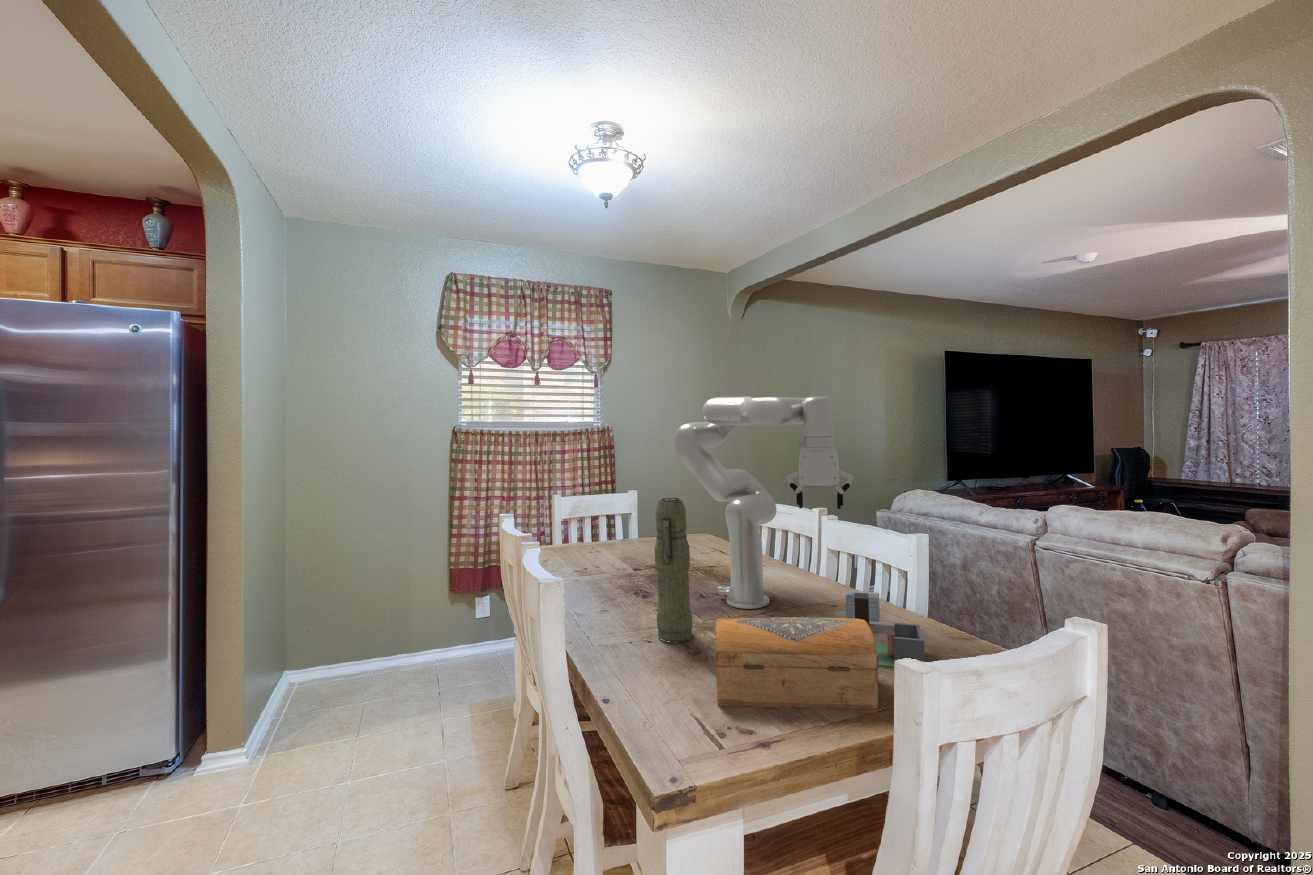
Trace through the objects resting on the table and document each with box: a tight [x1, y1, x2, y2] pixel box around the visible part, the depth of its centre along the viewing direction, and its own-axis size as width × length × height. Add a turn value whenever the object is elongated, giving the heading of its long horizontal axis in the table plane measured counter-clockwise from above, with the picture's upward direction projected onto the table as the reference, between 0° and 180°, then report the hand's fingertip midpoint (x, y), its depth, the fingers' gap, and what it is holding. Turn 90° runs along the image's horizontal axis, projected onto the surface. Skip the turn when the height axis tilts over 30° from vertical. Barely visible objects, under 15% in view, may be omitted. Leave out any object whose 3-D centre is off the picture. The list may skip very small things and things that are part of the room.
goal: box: [890, 621, 926, 663], centre depth 123 cm, size 6×10×6 cm, turn 160°
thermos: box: [654, 497, 693, 643], centre depth 140 cm, size 9×12×35 cm
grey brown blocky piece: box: [854, 593, 895, 657], centre depth 126 cm, size 15×4×12 cm, turn 70°
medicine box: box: [845, 589, 881, 622], centre depth 142 cm, size 8×4×9 cm, turn 65°
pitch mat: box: [875, 642, 895, 669], centre depth 125 cm, size 14×12×1 cm
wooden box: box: [714, 616, 880, 710], centre depth 111 cm, size 30×16×14 cm, turn 83°
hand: (819, 508), depth 146 cm, fingers open, 9 cm apart
